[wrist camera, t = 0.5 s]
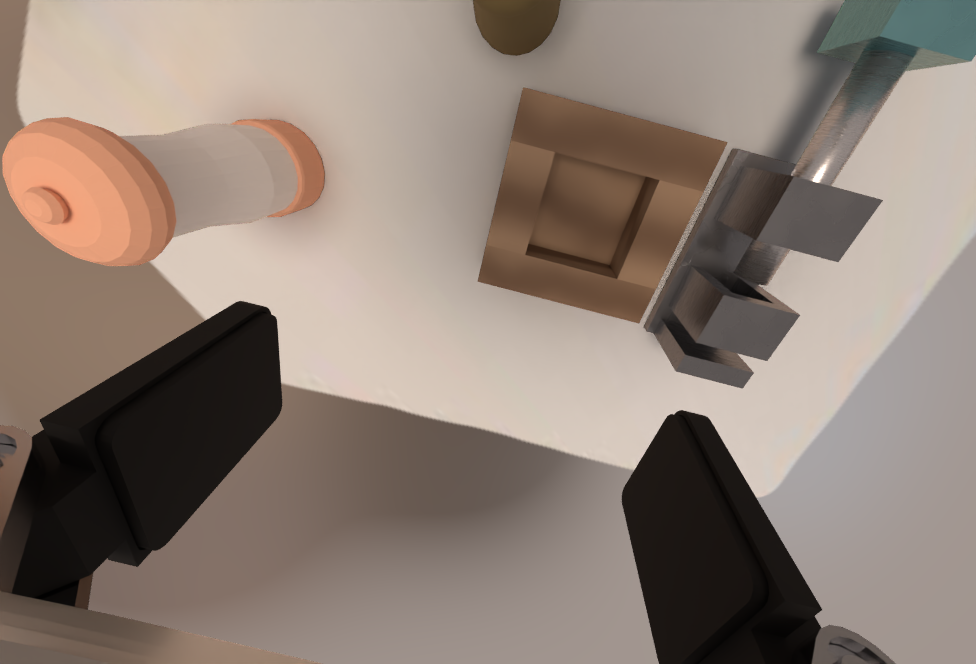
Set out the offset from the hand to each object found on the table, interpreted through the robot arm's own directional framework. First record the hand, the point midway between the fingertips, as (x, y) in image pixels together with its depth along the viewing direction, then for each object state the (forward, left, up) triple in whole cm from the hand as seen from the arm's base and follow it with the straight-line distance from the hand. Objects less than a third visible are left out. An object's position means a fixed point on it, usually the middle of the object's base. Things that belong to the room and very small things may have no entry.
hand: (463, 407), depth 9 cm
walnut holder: (-1, +6, -27) cm, 28 cm away
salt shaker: (+2, -20, -27) cm, 34 cm away
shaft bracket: (0, +19, -27) cm, 33 cm away
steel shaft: (-9, +19, -25) cm, 32 cm away
